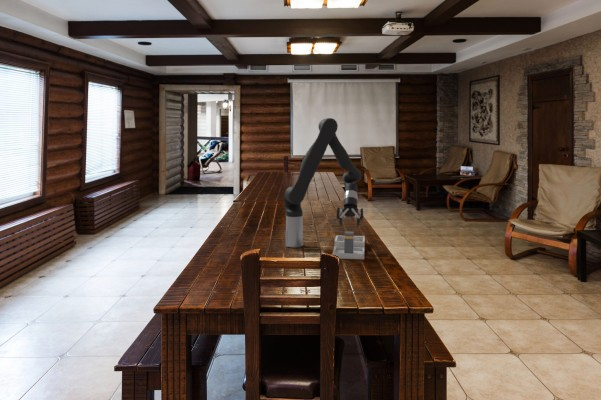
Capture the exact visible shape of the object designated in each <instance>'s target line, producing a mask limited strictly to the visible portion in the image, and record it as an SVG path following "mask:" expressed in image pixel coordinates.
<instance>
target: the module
mask: <svg viewBox="0 0 601 400" xmlns="http://www.w3.org/2000/svg"><path fill="white" fill-rule="evenodd" d="M354 233H355V232H354V231H346V230H345V231H344V236H345V241H344V253H349V254H353V240H354V236H355V235H354Z"/></svg>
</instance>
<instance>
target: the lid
mask: <svg viewBox="0 0 601 400" xmlns="http://www.w3.org/2000/svg"><path fill="white" fill-rule="evenodd" d="M333 255H336V256H338V257H339V258H338V259H339V260H340V259H343V260H344V259H345V260H347V259H348V260H365V248H364V247H353V254H349V253H344V247H335V246H334V247H333V249H332V256H333Z"/></svg>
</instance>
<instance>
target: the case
mask: <svg viewBox="0 0 601 400" xmlns="http://www.w3.org/2000/svg"><path fill="white" fill-rule="evenodd" d="M365 237H366V236H365V235H354V240H353V247H364V249H365V240H366V239H365ZM344 241H345V235H335V238H334V247H344Z"/></svg>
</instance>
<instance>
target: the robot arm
mask: <svg viewBox="0 0 601 400" xmlns="http://www.w3.org/2000/svg"><path fill="white" fill-rule="evenodd" d="M318 123H319V124H318V130H319V132H318V134H317V137H316V138H315V140H314V142H313V143H312V145H310V147H309V149H308V150H307V151H306V153H305V155H304V157H303V159H302V162H301V164H300V168H299V173H298V177H297V179H296V182H295V183H294V185H293V186H289V187H287V189H286V190H285V192H284V210H285V222H286V223H285V228H286V229H285V233H284V234H285V247H287V248H288V247H289V248H301V247H303V246H304V245H303V243H304V242H303V241H304V239H303V238H304V237H303V235H304V233H303V232H304V231H303V229H304V227H303V226H304V222H303V220H304V219H303V215H304V214H303V209H302V207H301V206H302V205H301V204H302V203H303V200H304V199H305V197H306V194H307V191H308V189H309V186H310V184H311V181H312V180H313V178H314V176H315V174H316V172H317V170H318V168H319V167H320V164H321V162H322V160H323V157H324V155H325V153H326V151H327V148H328V146H329V148H330V149H331V151H332V153H333V156H334V157H335V159H336V161H337V163H338V165H339V168H340V169H341V170H349V171H346V172H344V173H343V175H342V181H343V185H344V196H343V206H342V207H343V208H340V207H337V209H336V215H335V217H336V220H339V221H338V222H339V225H340V226H341V227H342V226H343V220H344V219H345V218H346V217H347V218H348V217H349V218H353V217H354V218H355V219H356V227H359V226H360V222H361V221H363V220H364V208H362V207H361V208H359V209H358V198H359V197H358V191H359V189H358V184H356V183H358V182H359V181H361V180H362V173H361V171H360V170H359V169H358V168H357V167H356V166H355V164H354V163H353V162H352V160H351V158H350V156H349V154H348V152H347V149H345V147H344V146H343V145H342V143H341V142H340V140H339V138H338V136H337V130H338V125H339V124H338V122H337V120H336V119H335V118H332V117H328V118H324V119H321V120H320V122H318ZM340 213H341V215H340ZM358 213H359V214H360V215H358Z"/></svg>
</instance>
